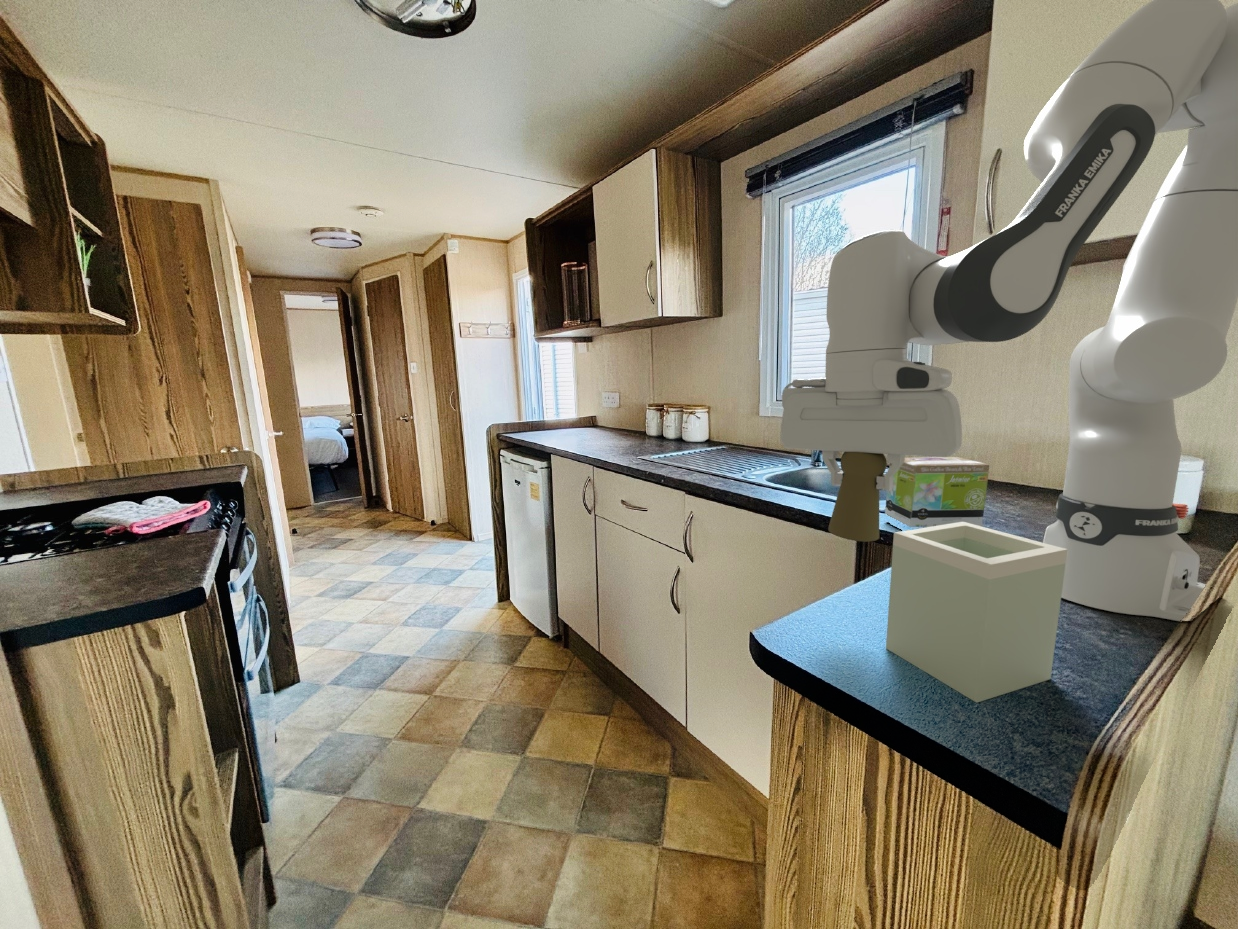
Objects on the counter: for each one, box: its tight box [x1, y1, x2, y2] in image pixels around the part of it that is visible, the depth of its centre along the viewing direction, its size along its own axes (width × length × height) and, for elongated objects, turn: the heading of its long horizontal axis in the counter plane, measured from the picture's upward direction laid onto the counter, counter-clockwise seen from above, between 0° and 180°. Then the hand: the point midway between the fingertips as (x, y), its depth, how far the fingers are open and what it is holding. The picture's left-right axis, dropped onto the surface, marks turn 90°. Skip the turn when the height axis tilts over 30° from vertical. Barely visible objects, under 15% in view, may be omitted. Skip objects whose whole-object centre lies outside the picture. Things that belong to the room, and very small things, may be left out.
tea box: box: [884, 456, 990, 528], centre depth 105 cm, size 15×10×15 cm
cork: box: [827, 452, 888, 542], centre depth 63 cm, size 6×6×11 cm
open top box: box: [885, 522, 1068, 704], centre depth 56 cm, size 11×11×14 cm
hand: (861, 487), depth 63 cm, fingers closed on cork, 4 cm apart
